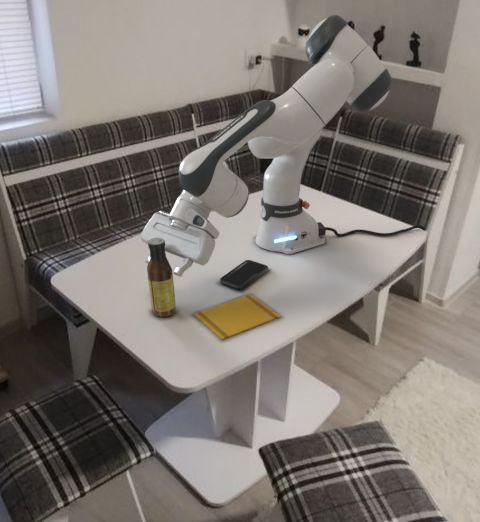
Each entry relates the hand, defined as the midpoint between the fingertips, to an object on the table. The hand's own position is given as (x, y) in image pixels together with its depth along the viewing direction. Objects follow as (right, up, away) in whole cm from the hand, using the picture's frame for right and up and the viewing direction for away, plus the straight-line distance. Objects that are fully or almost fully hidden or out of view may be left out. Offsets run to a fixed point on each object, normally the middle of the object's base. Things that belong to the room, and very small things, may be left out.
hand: (162, 269), depth 129 cm
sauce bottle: (-1, -10, +8) cm, 13 cm away
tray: (+18, -11, +6) cm, 22 cm away
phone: (+21, +1, +22) cm, 31 cm away
